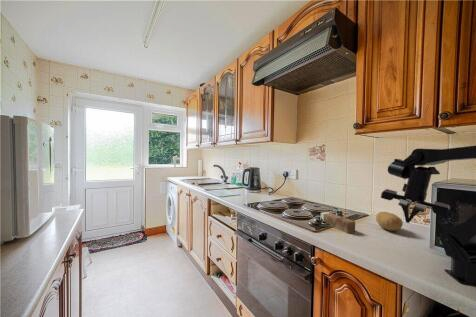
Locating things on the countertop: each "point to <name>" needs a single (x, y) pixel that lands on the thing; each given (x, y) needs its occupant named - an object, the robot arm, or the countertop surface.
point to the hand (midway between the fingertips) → (407, 222)
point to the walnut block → (339, 222)
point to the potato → (389, 221)
